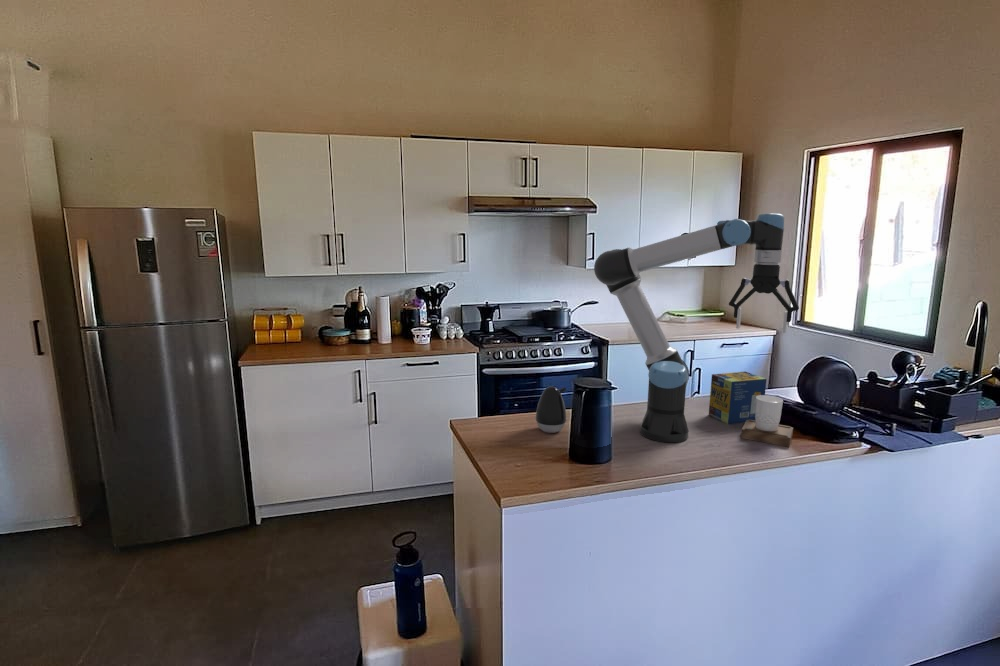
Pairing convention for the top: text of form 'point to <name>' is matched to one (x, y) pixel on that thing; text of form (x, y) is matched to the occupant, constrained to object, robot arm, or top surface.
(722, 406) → the protein box
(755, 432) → the tan flat block
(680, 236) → the robot arm
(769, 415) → the white cup
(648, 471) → the top surface
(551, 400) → the dark grey egg
